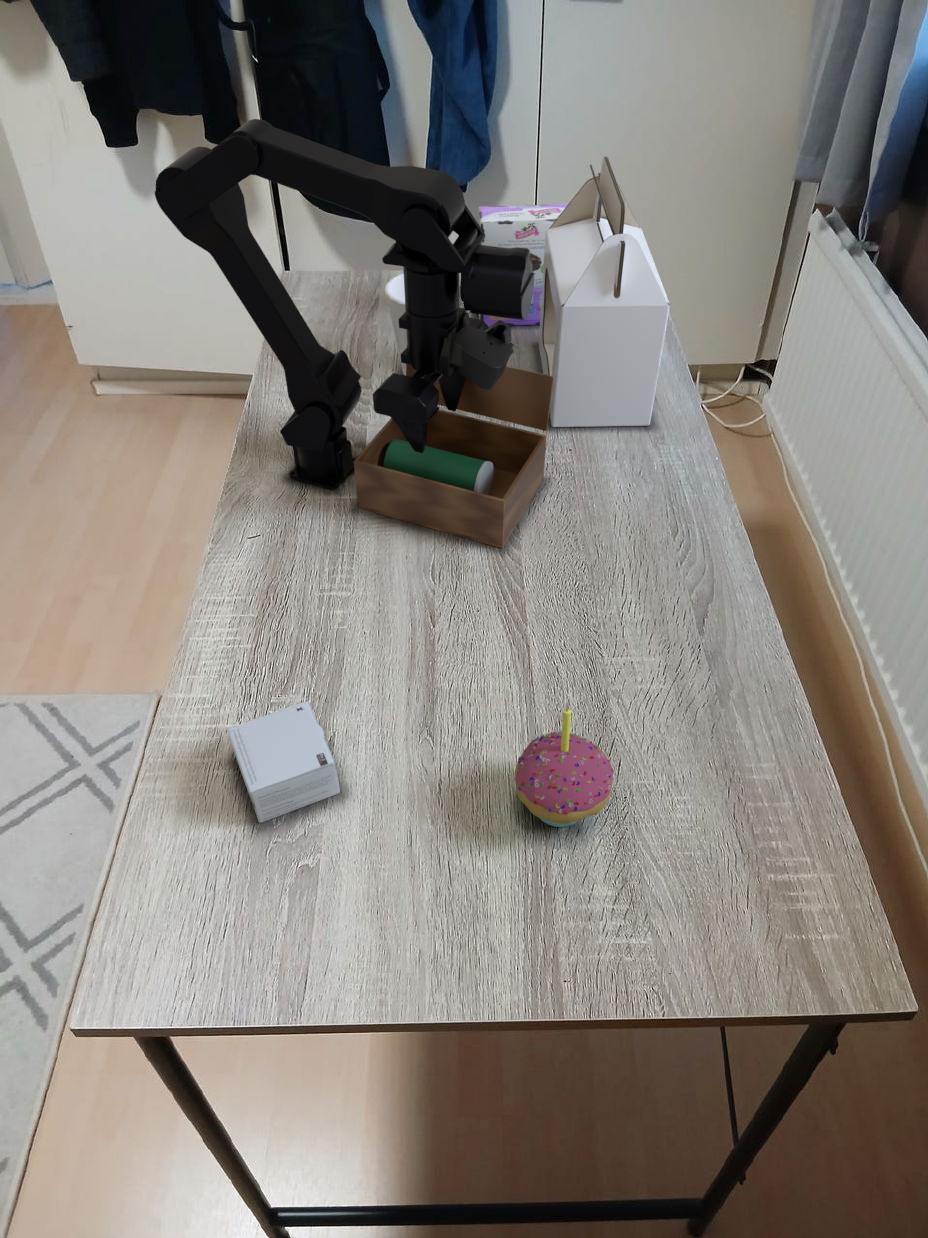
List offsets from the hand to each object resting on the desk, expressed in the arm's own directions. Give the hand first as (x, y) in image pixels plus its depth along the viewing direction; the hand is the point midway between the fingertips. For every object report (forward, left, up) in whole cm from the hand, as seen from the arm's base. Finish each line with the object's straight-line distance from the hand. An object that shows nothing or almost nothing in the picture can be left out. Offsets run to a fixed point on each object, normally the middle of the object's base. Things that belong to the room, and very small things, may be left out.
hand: (436, 430), depth 108 cm
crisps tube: (-6, 0, -6) cm, 9 cm away
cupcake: (+29, -37, -9) cm, 48 cm away
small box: (+5, -44, -9) cm, 45 cm away
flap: (+2, +7, +2) cm, 8 cm away
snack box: (+2, 0, -9) cm, 9 cm away
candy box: (-6, +45, -9) cm, 46 cm away
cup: (-13, +24, -9) cm, 29 cm away
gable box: (+10, +31, -9) cm, 34 cm away
